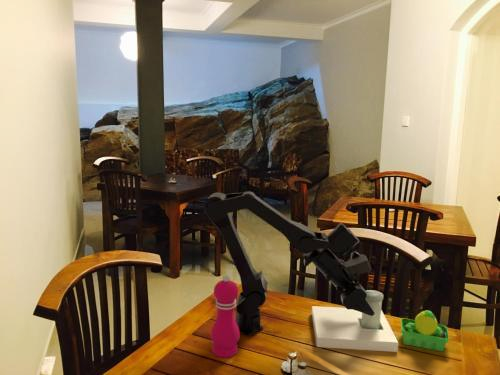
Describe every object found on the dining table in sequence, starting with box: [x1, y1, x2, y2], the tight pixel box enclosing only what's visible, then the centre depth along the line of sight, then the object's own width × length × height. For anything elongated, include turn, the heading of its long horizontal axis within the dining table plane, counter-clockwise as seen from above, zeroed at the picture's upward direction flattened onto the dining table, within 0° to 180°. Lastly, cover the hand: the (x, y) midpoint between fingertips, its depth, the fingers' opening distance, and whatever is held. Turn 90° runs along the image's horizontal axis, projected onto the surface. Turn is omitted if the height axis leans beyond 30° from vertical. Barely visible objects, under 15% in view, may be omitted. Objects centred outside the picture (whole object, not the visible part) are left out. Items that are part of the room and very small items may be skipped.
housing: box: [311, 305, 399, 353], centre depth 117 cm, size 20×18×4 cm
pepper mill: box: [210, 274, 241, 359], centre depth 106 cm, size 7×7×20 cm
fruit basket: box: [400, 309, 450, 352], centre depth 111 cm, size 11×9×11 cm
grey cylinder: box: [361, 289, 384, 330], centre depth 116 cm, size 5×5×11 cm
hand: (369, 306), depth 115 cm, fingers open, 9 cm apart
